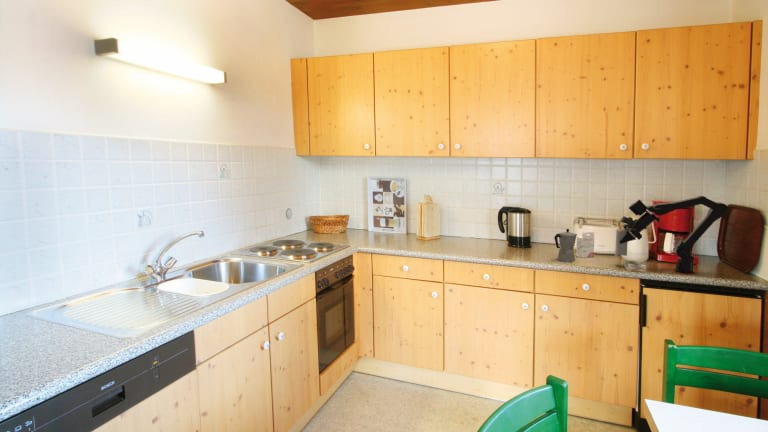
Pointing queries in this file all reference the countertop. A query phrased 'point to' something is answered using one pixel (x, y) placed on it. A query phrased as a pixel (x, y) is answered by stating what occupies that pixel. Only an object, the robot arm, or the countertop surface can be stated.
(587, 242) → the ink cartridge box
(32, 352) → the countertop surface
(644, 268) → the rail dock
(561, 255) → the coffeepot
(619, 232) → the block
